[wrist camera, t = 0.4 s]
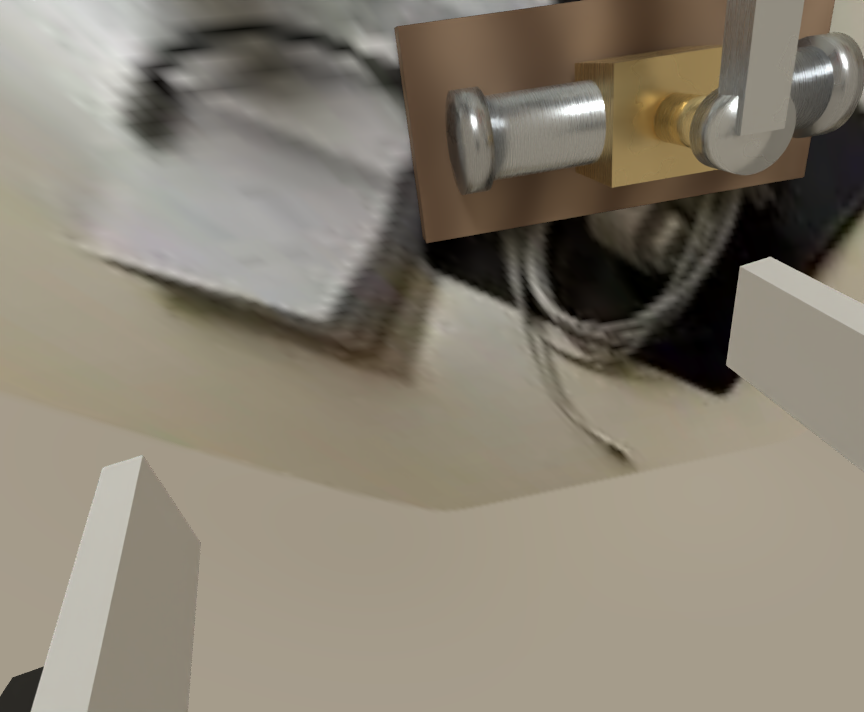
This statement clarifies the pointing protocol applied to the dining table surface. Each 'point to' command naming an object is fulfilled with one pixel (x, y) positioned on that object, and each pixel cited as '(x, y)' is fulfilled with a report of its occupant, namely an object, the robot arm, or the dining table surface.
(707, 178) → the mounting board
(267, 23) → the dining table surface
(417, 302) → the dining table surface
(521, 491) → the dining table surface
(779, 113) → the valve lever
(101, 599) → the robot arm
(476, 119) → the ball valve
